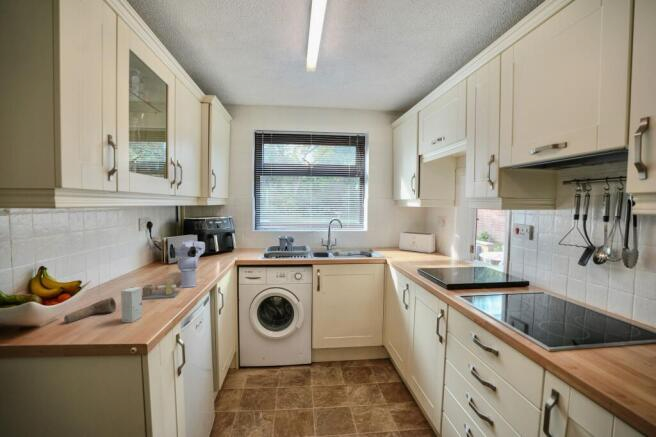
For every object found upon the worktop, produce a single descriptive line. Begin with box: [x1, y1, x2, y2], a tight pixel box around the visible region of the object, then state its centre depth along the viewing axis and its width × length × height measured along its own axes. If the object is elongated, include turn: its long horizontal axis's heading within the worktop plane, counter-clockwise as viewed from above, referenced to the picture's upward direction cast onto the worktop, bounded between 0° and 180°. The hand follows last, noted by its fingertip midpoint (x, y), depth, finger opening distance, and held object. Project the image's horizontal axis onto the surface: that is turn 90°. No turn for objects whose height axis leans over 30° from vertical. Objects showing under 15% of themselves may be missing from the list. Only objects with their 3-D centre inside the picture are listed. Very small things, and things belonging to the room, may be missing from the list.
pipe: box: [63, 297, 117, 324], centre depth 116 cm, size 6×17×10 cm
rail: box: [142, 284, 180, 301], centre depth 143 cm, size 15×10×5 cm, turn 105°
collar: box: [165, 278, 176, 295], centre depth 145 cm, size 2×6×6 cm, turn 15°
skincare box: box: [120, 286, 143, 323], centre depth 113 cm, size 6×4×12 cm
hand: (179, 255), depth 143 cm, fingers open, 7 cm apart
